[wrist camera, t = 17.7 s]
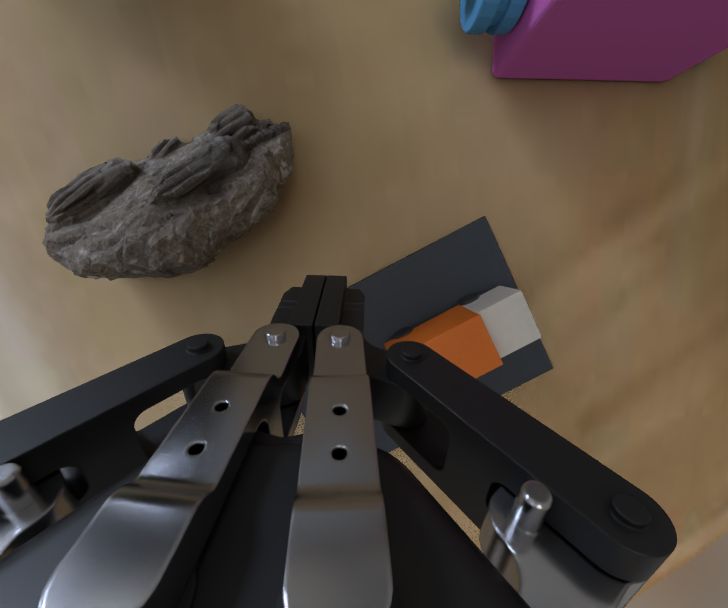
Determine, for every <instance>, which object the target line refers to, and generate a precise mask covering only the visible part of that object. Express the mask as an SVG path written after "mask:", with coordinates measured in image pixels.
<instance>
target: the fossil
mask: <svg viewBox="0 0 728 608" xmlns="http://www.w3.org/2000/svg"><path fill="white" fill-rule="evenodd" d="M293 158H294V153H293V147H292V133H291V128H290V125H289V122H282V123H280V125H278V124H276V123H273V122H272V121H271V120H270V119H267V120H257V119H256V118H255V117H254V115H253V113H252V112H251V111H249V110H248V109H247V108H246V107H245V106H243V105H242V104H236V105H234V106H232V107H230V108H228V109H226V110H224V111H222V112H220V113H219V114H218V115H217V116H216V117H215V118H214V119H213V121H212V122H211V123H210V126H209V128H208V129H207V131H206V132H203V133H202V134H200V135H198V136H196V137H195V138H193V139H192V143H190V144H185V143H181V141H180V140H179V139H178V137H177V136H176V137H174V138H172V139H169V140H163V141H160V142H159V143H158V144H157V145H156V146H155V147H153V149H152V152H151V154H150V155H148V156H147V158H146V159H141V160H138V161H135V162H131V161H127V160H122V159H120V158H119V157H118V158H115V159H112V160H108V161H107V162H105V163H103V164H100V165H98V166H95V167H93V168H90V169H88V170H86V171H84V172H82V173H80V174H78V175H77V176H76V177H75V178H74V179H72V180H71V181H70V182H69V183H68V184H67V185H66V186H65V187H63V188H61V189H59V190H58V191H56V192H55V193H54V194H52V195H51V197H50V199H49V201H48V204H47V207H48V211H47V212H46V216H47V217H46V222H48V223H49V224H48V225H47V227H46V228H45V230H46V232H45V238H44V241H43V244H44V245H45V247H46V251H47V254H48V255H49V256H50V257H51V258H52V259H53V260H55V261H57V262H58V263H60V264H61V265H63V266H64V267H65V268H67V269H69V270H71V271H72V272H73V273H74V275H77V276H80V277H84V278H94V279H98V278H108V279H109V280H110V281H111V280H114V279H117V278H139V277H153V278H157V277H165V278H171V277H176V276H179V275H182V274H187V273H192V272H194V271H197V270H199V269H202V268H204V267H207V266H208V264H210V263H211V262H213V261H214V260H215V257H216V256H217V255H218V254H219V251H220V250H222V249H224V248H225V247H226V246H227V245H228V244H229V243H231V242H233V241H235V240H237V239H239V238H240V237H242V236H243V235H244V234H246V233H247V232H248V231H249V230H250V229H251V227H252V226H253V225H255V224H257V223H259V222H260V221H261V220H262V219H264V218H265V217H266V216H267V214H268V212H271V211H273V209H274V208H275V207H276V204H277V201H278V198H279V194H278V189H279V188H281V187H282V186H284V185H285V183H286V180H287V179H288V177H289V175H290V173H291V170H292V167H293Z"/></svg>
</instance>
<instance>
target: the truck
mask: <svg viewBox="0 0 728 608" xmlns="http://www.w3.org/2000/svg"><path fill="white" fill-rule="evenodd" d="M458 304H459V305H457V306H455V307H453V308H452V309H450V310H448V311H446V312H444V313H442V314H440V315H438V316H436V317H434V318H432V319H430V320H428V321H426V322H425V323H423V324H421V325H419V326H417V327H415V328H412V327H405V328H403V329H401V330H399V331H397V332H396V333H395V334H394V335H393V339H392V340H390V341H388V342H386V343H384V346H385V348H386V350H388V348H389V347H390V346H391V345H393V344H394V343H397V342H401V341H415V342H419V343H422V344H424V345H426V346H428V347H430V348H431V349H432V350H434V351H435V352H437V353H438V354H440V355H441V356H443V357H444V358H446V359H447V360H449V361H450V362H452V363H453V364H455V365H456V366H458V367H459V368H461V369H462V370H464V371H465V372H467V373H468V374H470V375H471V376H473V377H474V378H475V379H476V378H478V377H480V376H482V375H484V374H485V373H487V372H489V371H491V370H493V369H495V368H497V367H499V366H501V365H503V362H502V360H501V358H502V357H504V356H506V355H508V354H510V353H512V352H514V351H516V350H518V349H520V348H522V347H524V346H526V345H528V344H530V343H532V342H534V341H535V340H537V339H539V338H541V337H542V336H541V334H540V332H539V329H538V327H537V325H536V323H535V320H534V318H533V316H532V314H531V311H530V309H529V307H528V305H527V302H526V300H525V298H524V296H523V293H522V291H521V290H518V289H513V288H509V287H504V286H497V287H496V288H494V289H492V290H490V291H488V292H486V293H484V294H482V295H479V293H471V294H469V295H466V296H464V297H462V298H461V299H460V300H459V301H458Z"/></svg>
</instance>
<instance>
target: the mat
mask: <svg viewBox="0 0 728 608" xmlns="http://www.w3.org/2000/svg"><path fill="white" fill-rule="evenodd" d="M497 286H504V287H509V288H513V289H518V288H517V286H516V284H515V282H514V280H513V277H512V275H511V273H510V271H509V268H508V266H507V264H506V262H505V259H504V257H503V255H502V253H501V250H500V248H499V246H498V244H497V242H496V239H495V237H494V235H493V233H492V230H491V228H490V226H489V224H488V221H487V219H486V217H485V216H484V217H482V218H480V219H478V220H476V221H474V222H472V223H470V224H468V225H466V226H464V227H463V228H461V229H459V230H457V231H455V232H453V233H451V234H449V235H447V236H445V237H443V238H442V239H440V240H438V241H436V242H434V243H432V244H430V245H428V246H426V247H424V248H422V249H421V250H419V251H417V252H415V253H413V254H411V255H409V256H407V257H405V258H403V259H401V260H400V261H398V262H396V263H394V264H392V265H390V266H388V267H386V268H384V269H382V270H380V271H379V272H377V273H375V274H373V275H371V276H369V277H367V278H365V279H363V280H361V281H359V282H358V283H356V284H354V285H352V286H350V287H348V288H347V289H360V290H361V291H362V293H363V294H364V295H365V305H364V338H365V339H366V340H367V341H368V342H369V343H370V344H371V345H373V346H375V347H377V348H380V349H384V350H386V348H385V346H384V343H386V342H388V341H390V340H392V339H393V335H394V334H395V333H396V332H397V331H399V330H401V329H403V328H405V327H412V328H415V327H417V326H419V325H421V324H423V323H425V322H426V321H428V320H430V319H432V318H434V317H436V316H438V315H440V314H442V313H444V312H446V311H448V310H450V309H452V308H453V307H455V306H457V305H459V304H458V301H459V300H460V299H461V298H462V297H464V296H466V295H469V294H471V293H479V295H482V294H484V293H486V292H488V291H490V290H492V289H494V288H496V287H497ZM501 360H502V362H503V365H501V366H499V367H497V368H495V369H493V370H491V371H489V372H487V373H485V374H484V375H482V376H480V377H478V378H476V379H477V380H478V381H480V382H481V383H483V384H484V385H486V386H487V387H489V388H490V389H492V390H493V391H495V392H496V393H498V394H499V395H502V394H504V393H506V392H508V391H510V390H512V389H513V388H515V387H517V386H519V385H521V384H523V383H525V382H527V381H529V380H531V379H533V378H535V377H537V376H539V375H541V374H543V373H545V372H547V371H549V370H551V369H553V367H552V365H551V362H550V360H549V358H548V356H547V353H546V351H545V349H544V347H543V344H542V342H541V340H540V338H539V339H537V340H535V341H534V342H532V343H530V344H528V345H526V346H524V347H522V348H520V349H518V350H516V351H514V352H512V353H510V354H508V355H506V356H504V357H502V358H501ZM308 390H309V384H307V385H306V390H305V393H304V405H303V409H302V413H303V415H304V417H305V416H306V407H307V399H308ZM374 427H375V436H376V446H377V448H379V449H382V450H384V451H385V452H387V453H388V452H390V451H392V450H394V449H396V448H398V447H399V446H398V445H397V444H396V443H395V442H394V441H393V440H392V439H391V438H390V437H389V436H388V435H387V434H386V432H385V431H384V429H383V427H382V422H381V421H377V420H374Z"/></svg>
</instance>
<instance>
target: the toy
mask: <svg viewBox="0 0 728 608" xmlns="http://www.w3.org/2000/svg"><path fill="white" fill-rule="evenodd" d="M460 20H461V26H462V29H463V31H464V32H465V33H466V34H482V33H484V32H485V31H486V32H487V33H488V34H490V35H494V46H493V66H492V73H493V75H494V76H495V77H497V78H532V79H573V80H613V81H654V82H663V81H667V80H669V79H670V78H672V77H674V76H676V75H678V74H680V73H682V72H683V71H685V70H687V69H689V68H691V67H693V66H695V65H697V64H698V63H700V62H702V61H704V60H706V59H708V58H710V57H712V56H713V55H715V54H717V53H719V52H721V51H723V50H725V49H727V48H728V0H460Z"/></svg>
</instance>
